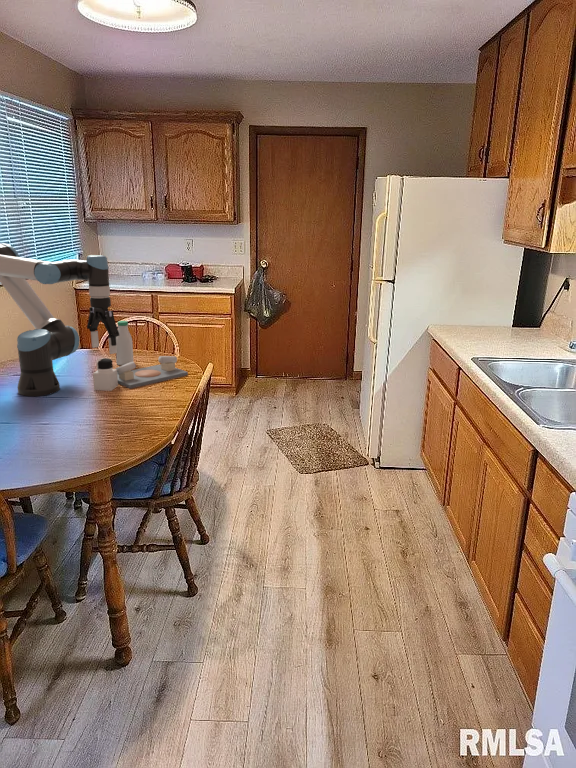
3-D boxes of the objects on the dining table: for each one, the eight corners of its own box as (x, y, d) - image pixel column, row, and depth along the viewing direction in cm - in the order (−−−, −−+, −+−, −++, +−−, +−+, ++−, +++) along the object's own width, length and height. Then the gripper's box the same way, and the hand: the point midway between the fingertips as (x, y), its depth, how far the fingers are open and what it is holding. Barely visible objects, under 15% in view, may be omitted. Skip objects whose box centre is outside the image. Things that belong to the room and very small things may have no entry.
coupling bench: (129, 388, 225) (128, 369, 222) (106, 378, 236) (105, 360, 234) (188, 375, 245) (187, 357, 243) (164, 366, 257) (163, 349, 254)
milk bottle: (137, 363, 261) (134, 321, 255) (124, 366, 254) (121, 323, 248) (125, 360, 265) (123, 319, 259) (112, 363, 258) (110, 321, 252)
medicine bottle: (118, 385, 228) (116, 357, 224) (111, 391, 221) (109, 362, 217) (101, 384, 228) (99, 356, 225) (93, 390, 221) (91, 361, 218)
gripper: (126, 299, 208) (129, 354, 214) (92, 292, 224) (97, 343, 230) (108, 301, 203) (112, 357, 209) (75, 293, 219) (79, 346, 225)
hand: (104, 350), depth 220 cm, fingers open, 13 cm apart
